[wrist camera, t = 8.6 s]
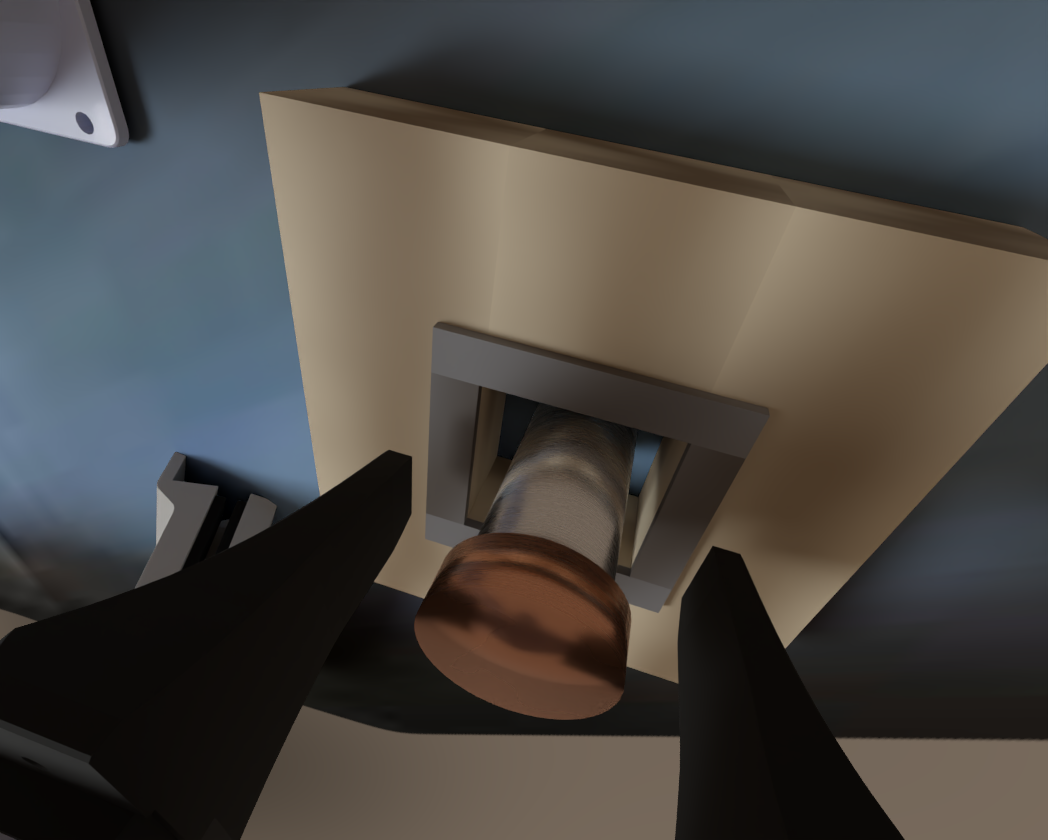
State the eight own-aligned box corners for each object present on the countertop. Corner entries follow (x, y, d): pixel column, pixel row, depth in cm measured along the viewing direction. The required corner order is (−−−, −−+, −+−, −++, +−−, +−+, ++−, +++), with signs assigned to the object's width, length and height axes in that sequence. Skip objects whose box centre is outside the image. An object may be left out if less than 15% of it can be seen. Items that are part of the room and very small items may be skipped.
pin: (521, 437, 17) (412, 673, 10) (541, 337, 14) (417, 559, 8) (632, 471, 16) (593, 741, 10) (672, 373, 14) (655, 641, 7)
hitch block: (371, 510, 21) (326, 574, 18) (344, 86, 12) (248, 93, 9) (729, 623, 19) (736, 711, 16) (1022, 227, 10) (1141, 283, 7)
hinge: (175, 446, 22) (25, 694, 15) (288, 473, 24) (202, 707, 17) (167, 605, 32) (76, 797, 25) (247, 616, 34) (183, 799, 27)
